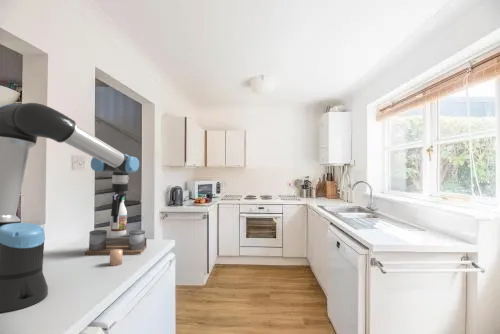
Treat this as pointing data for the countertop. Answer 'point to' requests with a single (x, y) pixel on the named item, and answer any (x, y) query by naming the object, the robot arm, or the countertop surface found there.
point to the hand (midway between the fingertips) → (118, 227)
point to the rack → (116, 243)
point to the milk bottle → (120, 221)
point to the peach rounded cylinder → (116, 257)
